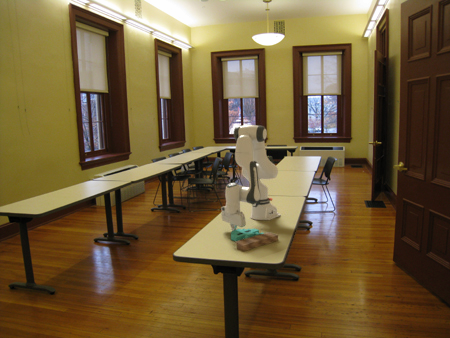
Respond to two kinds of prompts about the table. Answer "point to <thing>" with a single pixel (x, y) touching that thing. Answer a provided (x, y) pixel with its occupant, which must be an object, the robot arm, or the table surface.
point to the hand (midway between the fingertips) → (233, 230)
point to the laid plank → (256, 241)
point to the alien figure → (244, 234)
